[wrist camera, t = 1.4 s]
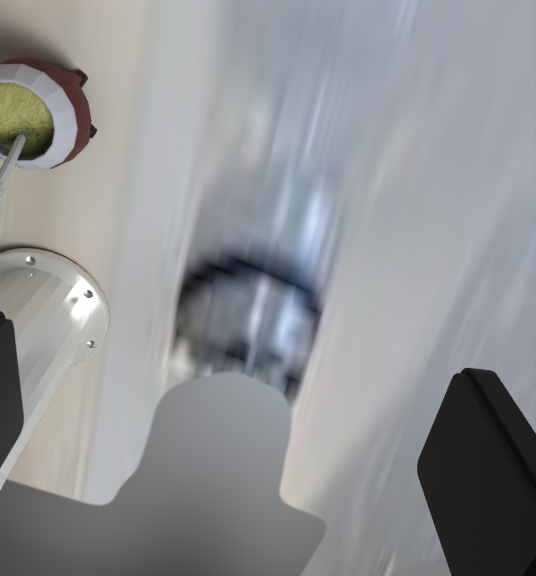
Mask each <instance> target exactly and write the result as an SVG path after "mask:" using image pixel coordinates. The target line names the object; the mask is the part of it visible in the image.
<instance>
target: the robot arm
mask: <svg viewBox="0 0 536 576" xmlns="http://www.w3.org/2000/svg"><path fill="white" fill-rule="evenodd" d="M108 325H109V312H108V306H107V303H106V300H105V297H104V295H103V293H102V291H101V290H100V288H99V286H98V285H97V283H96V282H95V281H94V280H93V279H92V278H91V276H90V275H89V274H88V273H87V272H85V271H84V270H83V269H82V268H81V267H79V266H78V265H77V264H75V263H73V262H72V261H70V260H68V259H67V258H65V257H63V256H60V255H57V254H55V253H52V252H49V251H45V250H40V249H31V248H19V249H11V250H7V251H4V252H1V253H0V490H1V488H2V486H3V484H4V482H5V480H6V478H7V477H8V475H9V473H10V471H11V469H12V468H13V466H14V464H15V462H16V460H17V459H18V457H19V455H20V453H21V452H22V450H23V448H24V447H25V445H26V443H27V441H28V439H29V438H30V436H31V434H32V432H33V431H34V429H35V427H36V425H37V423H38V422H39V420H40V418H41V416H42V414H43V413H44V411H45V409H46V407H47V406H48V404H49V402H50V400H51V398H52V397H53V395H54V393H55V391H56V389H57V388H58V386H59V384H60V382H61V381H62V379H63V377H64V375H65V373H66V372H67V370H68V368H69V367H71V366H75V365H77V364H79V363H81V362H83V361H85V360H87V359H88V358H89V357H91V356H92V355H93V354H94V353H95V352H96V351H97V349H98V348H99V347H100V346H101V344H102V342H103V340H104V338H105V336H106V333H107V329H108ZM417 472H418V477H419V480H420V483H421V486H422V489H423V492H424V495H425V498H426V501H427V504H428V507H429V510H430V513H431V516H432V519H433V522H434V525H435V528H436V531H437V534H438V537H439V540H440V543H441V546H442V549H443V551H444V554H445V557H446V560H447V563H448V566H449V569H450V572H451V575H452V576H536V433H535V432H534V430H533V429H532V427H531V426H530V424H529V423H528V421H527V420H526V418H525V417H524V415H523V414H522V412H521V411H520V409H519V408H518V406H517V405H516V403H515V402H514V400H513V399H512V397H511V395H510V394H509V392H508V391H507V389H506V388H505V386H504V385H503V383H502V382H501V380H500V379H499V377H498V376H497V374H496V373H495V372H493V371H490V370H482V369H474V368H464V369H463V370H462V371H461V373H457V374H455V375H454V376H453V378H452V380H451V382H450V385H449V387H448V389H447V392H446V394H445V397H444V399H443V401H442V404H441V406H440V409H439V411H438V413H437V416H436V418H435V421H434V423H433V426H432V428H431V430H430V433H429V435H428V438H427V440H426V442H425V445H424V447H423V450H422V452H421V454H420V457H419V460H418V464H417Z"/></svg>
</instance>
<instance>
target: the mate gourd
mask: <svg viewBox="0 0 536 576" xmlns="http://www.w3.org/2000/svg"><path fill="white" fill-rule="evenodd" d="M87 79H88V77H87V75H86V74H84V73H83V72H82V71H78V72H77V73H74V72H67V71H65V70H63V69H61V68H59V67H57V66H54V65H52V64H49V63H47V62H44V61H42V60H39V59H34V58H23V59H9V60H6V61H4V62H3V63H1V64H0V158H1V159H2V160H3V161H5V162H4V164H3V166H2V167H1V169H0V200H1V199H2V196H3V193H4V190H5V189H4V185H5V183H6V181H7V179H8V177H9V175H10V173H11V171H12V169H13V167H14V166H17V167H19V168H22V169H25V170H47V169H52V168H54V167H57V166H59V165H61V164H63V163H66V162H68V161H70V160H72V159H74V158H75V157H76V155H77V154H79V153H80V152H81V151H82V150H83V149H84V148H85V146H86V145H87V144H88V143H89V138H93V136H94V135H95V134H96V132H97V129H96V128H95V127H94V126H93V125H92V124H91V116H90V110H89V105H88V101H87V99H86V97H85V95H84V93H83V91H82V89H81V88H82V87H83V85H84V84H85V83H86V81H87Z"/></svg>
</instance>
